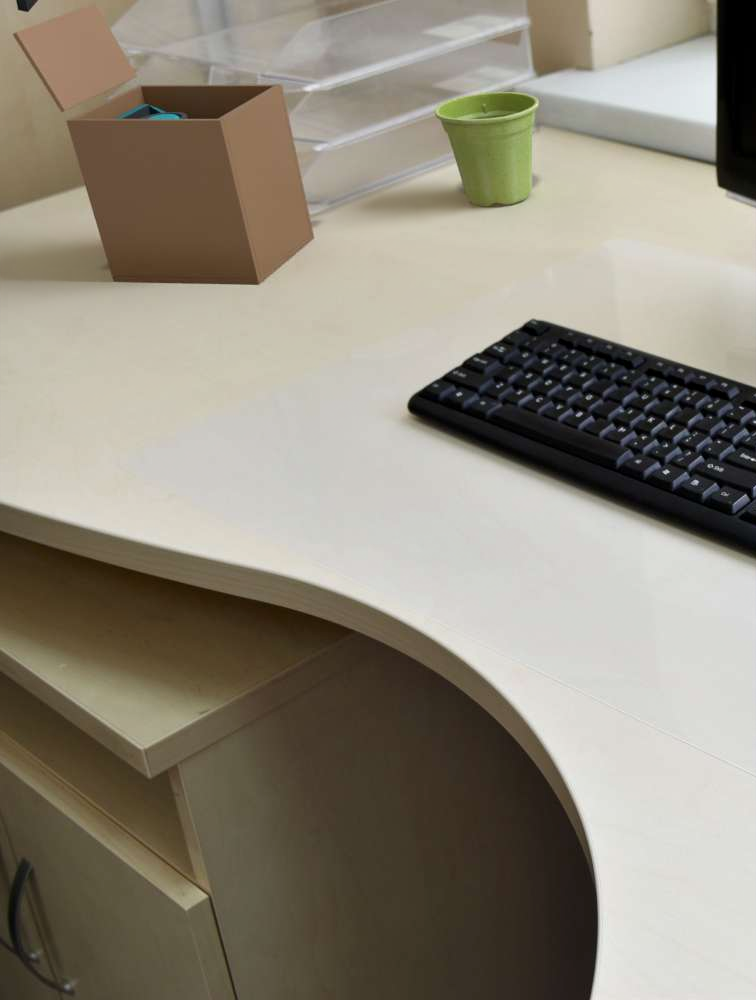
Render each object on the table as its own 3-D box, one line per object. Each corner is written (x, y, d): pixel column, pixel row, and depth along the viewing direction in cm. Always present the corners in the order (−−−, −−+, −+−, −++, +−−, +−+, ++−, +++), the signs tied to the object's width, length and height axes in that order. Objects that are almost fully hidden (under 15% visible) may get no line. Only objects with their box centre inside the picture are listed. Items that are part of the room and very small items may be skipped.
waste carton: (113, 282, 115) (65, 120, 108) (178, 236, 124) (138, 84, 117) (259, 284, 113) (220, 120, 106) (314, 237, 122) (282, 84, 115)
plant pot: (496, 220, 124) (482, 124, 120) (428, 202, 129) (413, 109, 125) (569, 192, 130) (559, 100, 126) (502, 175, 136) (490, 86, 131)
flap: (65, 110, 107) (61, 112, 108) (138, 76, 117) (134, 77, 117) (15, 32, 105) (12, 34, 105) (94, 3, 114) (90, 4, 114)
